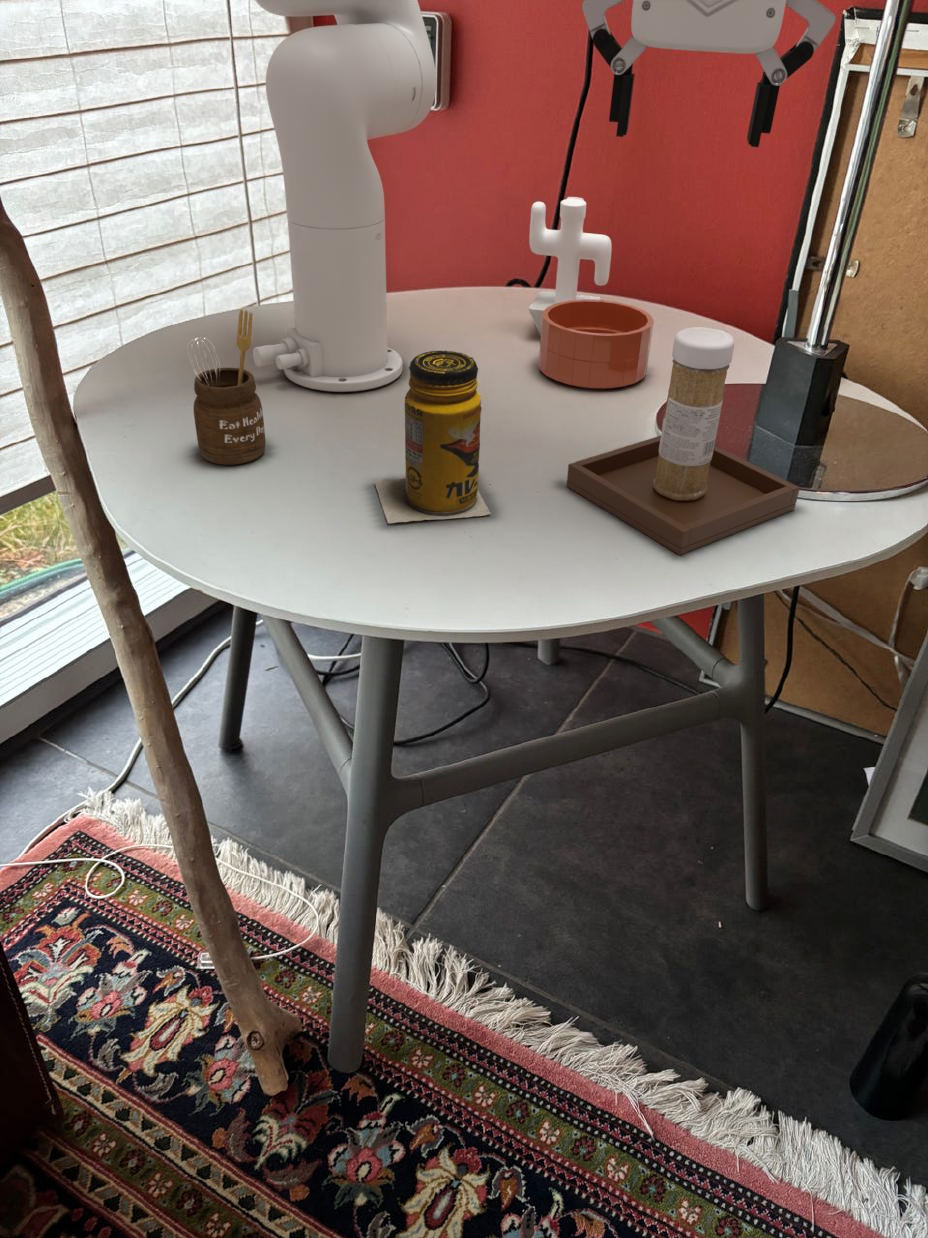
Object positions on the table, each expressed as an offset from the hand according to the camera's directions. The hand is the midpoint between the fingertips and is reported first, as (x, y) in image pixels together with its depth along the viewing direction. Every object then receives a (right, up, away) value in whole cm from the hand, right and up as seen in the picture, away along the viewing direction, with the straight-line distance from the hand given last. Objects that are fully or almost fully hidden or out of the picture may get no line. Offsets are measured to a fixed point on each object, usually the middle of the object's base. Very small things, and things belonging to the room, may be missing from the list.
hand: (686, 138), depth 73 cm
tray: (+2, -25, +11) cm, 28 cm away
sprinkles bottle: (+2, -25, +10) cm, 27 cm away
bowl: (-3, -9, +34) cm, 35 cm away
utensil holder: (-37, -21, +16) cm, 45 cm away
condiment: (-19, -26, +9) cm, 34 cm away
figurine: (-5, -2, +44) cm, 44 cm away
